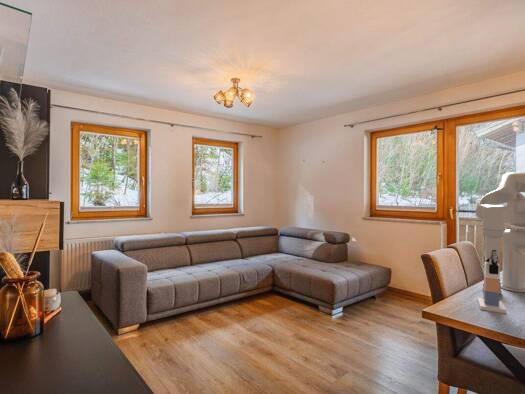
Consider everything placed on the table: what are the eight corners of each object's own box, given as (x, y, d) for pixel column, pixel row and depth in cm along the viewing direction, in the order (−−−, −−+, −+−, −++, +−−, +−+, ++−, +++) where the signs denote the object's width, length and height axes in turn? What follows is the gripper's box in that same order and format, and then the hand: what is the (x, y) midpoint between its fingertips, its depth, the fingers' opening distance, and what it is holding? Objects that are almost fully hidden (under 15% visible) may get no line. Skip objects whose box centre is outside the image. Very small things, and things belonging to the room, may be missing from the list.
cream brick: (484, 274, 141) (484, 261, 141) (497, 276, 139) (497, 263, 138) (485, 277, 137) (485, 264, 137) (499, 279, 134) (499, 265, 134)
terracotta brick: (483, 287, 141) (484, 274, 141) (497, 289, 139) (497, 276, 139) (485, 290, 137) (485, 277, 137) (499, 292, 134) (499, 279, 134)
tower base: (477, 300, 145) (477, 285, 145) (501, 304, 141) (501, 288, 141) (480, 309, 135) (480, 292, 135) (506, 313, 131) (506, 296, 130)
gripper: (480, 230, 147) (479, 266, 147) (485, 235, 132) (484, 274, 132) (499, 231, 143) (498, 268, 144) (507, 236, 128) (506, 277, 128)
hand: (491, 271), depth 138 cm, fingers open, 9 cm apart
